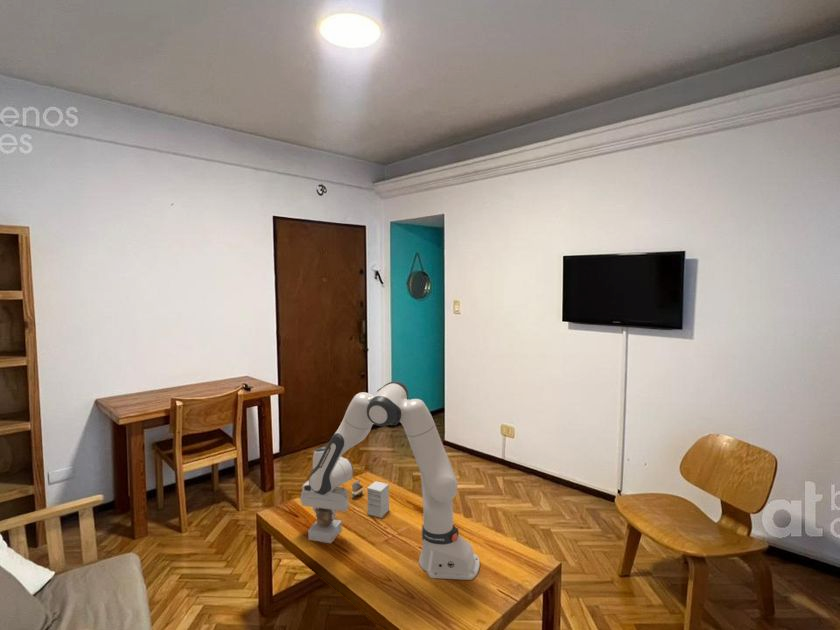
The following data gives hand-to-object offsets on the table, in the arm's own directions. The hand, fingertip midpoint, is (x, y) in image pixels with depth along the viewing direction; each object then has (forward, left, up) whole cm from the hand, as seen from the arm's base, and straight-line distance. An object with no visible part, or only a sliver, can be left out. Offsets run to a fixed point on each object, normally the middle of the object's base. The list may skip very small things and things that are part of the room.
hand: (325, 517), depth 185 cm
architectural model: (0, -34, -8) cm, 35 cm away
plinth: (0, 0, -7) cm, 7 cm away
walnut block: (0, 0, -2) cm, 2 cm away
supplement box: (-15, -22, -8) cm, 28 cm away
